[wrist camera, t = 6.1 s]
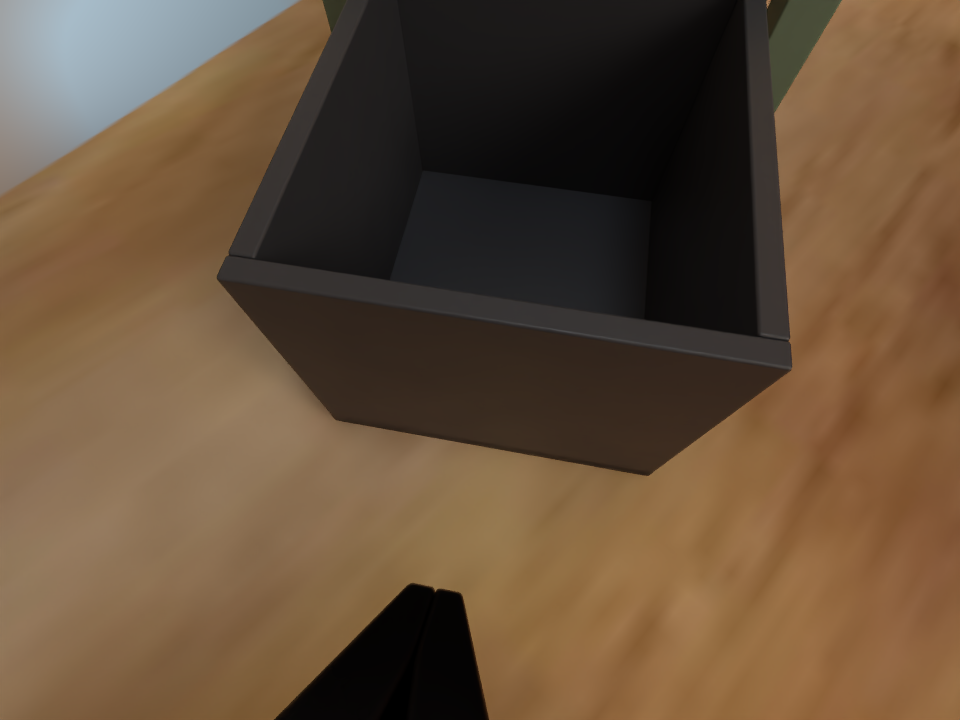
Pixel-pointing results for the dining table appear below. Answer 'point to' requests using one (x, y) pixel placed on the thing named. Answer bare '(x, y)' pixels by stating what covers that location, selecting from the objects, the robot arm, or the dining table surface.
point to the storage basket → (529, 225)
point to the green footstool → (791, 28)
